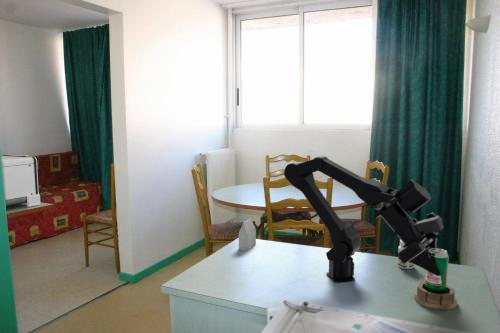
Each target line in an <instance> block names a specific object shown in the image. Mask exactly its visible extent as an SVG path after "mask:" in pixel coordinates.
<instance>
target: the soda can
mask: <svg viewBox="0 0 500 333" xmlns="http://www.w3.org/2000/svg"><path fill="white" fill-rule="evenodd" d="M429 255H430V256H431V258H432V259H433V261H434V262H435V264H436V265H437V267H438V268H439V270H440V272H441V275H439V276H437V275H435V274H433V273H431V272H429V271H427V270H425V277H424V282H425V290H426V291H428V292H432V293H436V294H446V286H447V285H448V284H447V283H448V273H449V272H448V270H449V269H448V268H449V254H448V251H447V250H445V249H442V248H438V247H437V248H431V249H430V250H429Z"/></svg>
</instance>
